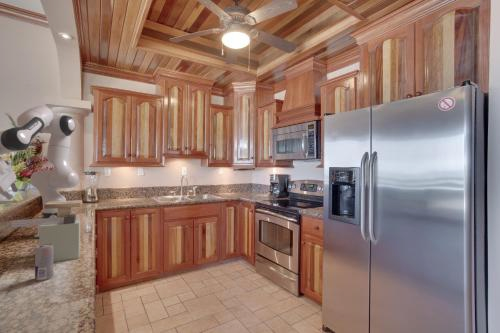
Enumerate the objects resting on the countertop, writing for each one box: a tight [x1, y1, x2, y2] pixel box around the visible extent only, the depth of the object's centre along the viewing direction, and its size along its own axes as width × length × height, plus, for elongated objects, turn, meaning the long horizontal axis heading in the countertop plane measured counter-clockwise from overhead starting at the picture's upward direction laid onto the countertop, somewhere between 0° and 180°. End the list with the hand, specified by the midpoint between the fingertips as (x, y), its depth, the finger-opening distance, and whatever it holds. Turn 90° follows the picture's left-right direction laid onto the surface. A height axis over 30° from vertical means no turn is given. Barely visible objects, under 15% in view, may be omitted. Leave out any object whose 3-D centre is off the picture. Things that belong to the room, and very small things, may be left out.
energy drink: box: [34, 244, 54, 282], centre depth 96 cm, size 5×5×12 cm
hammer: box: [11, 213, 77, 228], centre depth 113 cm, size 7×22×3 cm, turn 120°
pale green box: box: [38, 219, 81, 263], centre depth 116 cm, size 8×14×16 cm, turn 120°
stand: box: [44, 199, 83, 252], centre depth 126 cm, size 10×14×24 cm
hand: (13, 194), depth 116 cm, fingers open, 8 cm apart
